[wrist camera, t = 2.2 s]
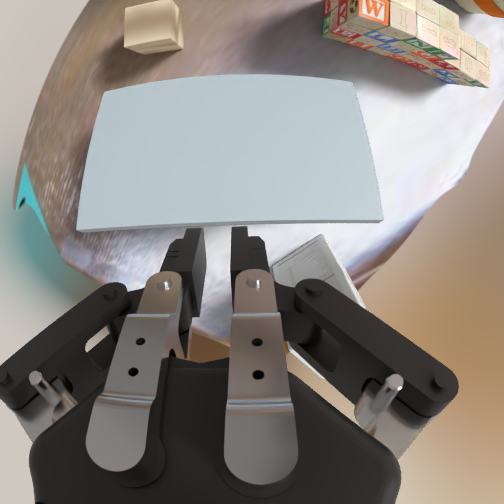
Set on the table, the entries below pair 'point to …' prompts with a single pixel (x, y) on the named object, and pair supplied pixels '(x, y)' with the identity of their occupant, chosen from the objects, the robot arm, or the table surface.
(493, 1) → the reusable coffee cup
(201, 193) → the box lid
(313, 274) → the supplement box
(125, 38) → the beech block
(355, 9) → the stack of blocks
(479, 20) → the table surface
